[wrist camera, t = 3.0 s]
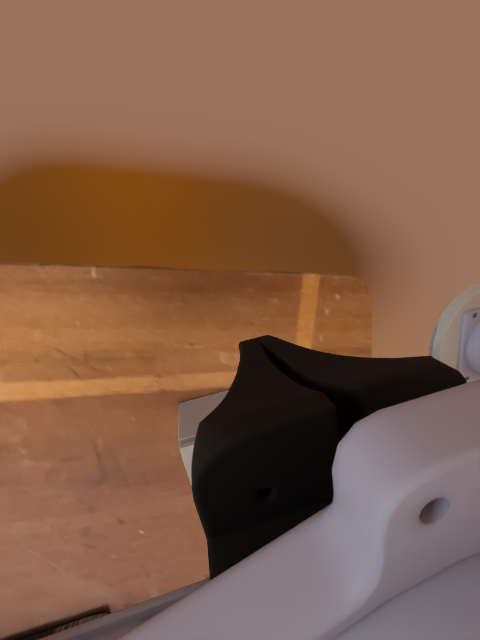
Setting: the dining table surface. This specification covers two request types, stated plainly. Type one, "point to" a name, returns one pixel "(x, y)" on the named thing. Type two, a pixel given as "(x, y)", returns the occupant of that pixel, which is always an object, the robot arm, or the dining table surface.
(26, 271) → the dining table surface
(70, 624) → the dish towel
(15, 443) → the dining table surface
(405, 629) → the robot arm
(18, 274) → the dining table surface
